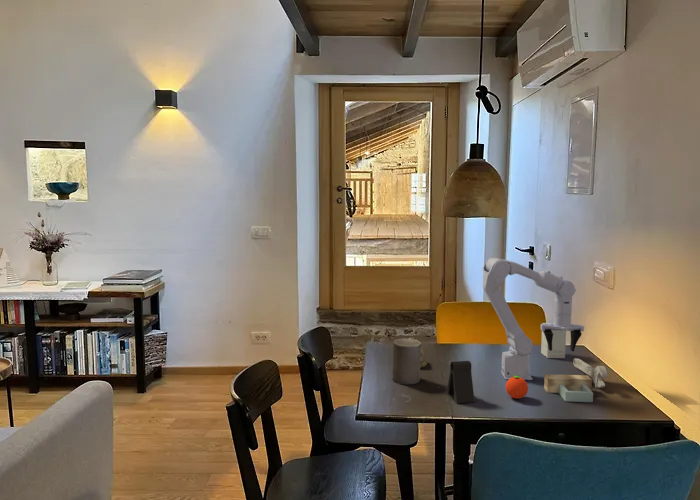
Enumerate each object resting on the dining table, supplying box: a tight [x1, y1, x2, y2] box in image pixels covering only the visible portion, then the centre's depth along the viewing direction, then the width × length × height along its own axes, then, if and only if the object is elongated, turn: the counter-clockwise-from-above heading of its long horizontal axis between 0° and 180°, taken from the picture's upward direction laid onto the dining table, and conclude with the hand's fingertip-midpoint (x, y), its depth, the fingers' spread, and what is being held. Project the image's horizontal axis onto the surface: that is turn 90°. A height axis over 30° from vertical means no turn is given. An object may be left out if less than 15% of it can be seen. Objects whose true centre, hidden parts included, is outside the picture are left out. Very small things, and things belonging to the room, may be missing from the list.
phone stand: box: [446, 360, 476, 405], centre depth 173 cm, size 9×6×12 cm, turn 10°
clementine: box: [505, 376, 529, 400], centre depth 174 cm, size 8×7×7 cm
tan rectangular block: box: [543, 373, 593, 394], centre depth 179 cm, size 14×4×5 cm, turn 85°
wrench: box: [573, 358, 608, 389], centre depth 191 cm, size 8×2×30 cm
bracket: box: [558, 384, 594, 403], centre depth 174 cm, size 8×7×3 cm
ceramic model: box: [408, 336, 428, 368], centre depth 209 cm, size 14×11×10 cm
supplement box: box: [540, 322, 567, 359], centre depth 217 cm, size 7×7×13 cm
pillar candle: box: [392, 337, 422, 386], centre depth 189 cm, size 10×10×15 cm
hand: (561, 350), depth 193 cm, fingers open, 7 cm apart
